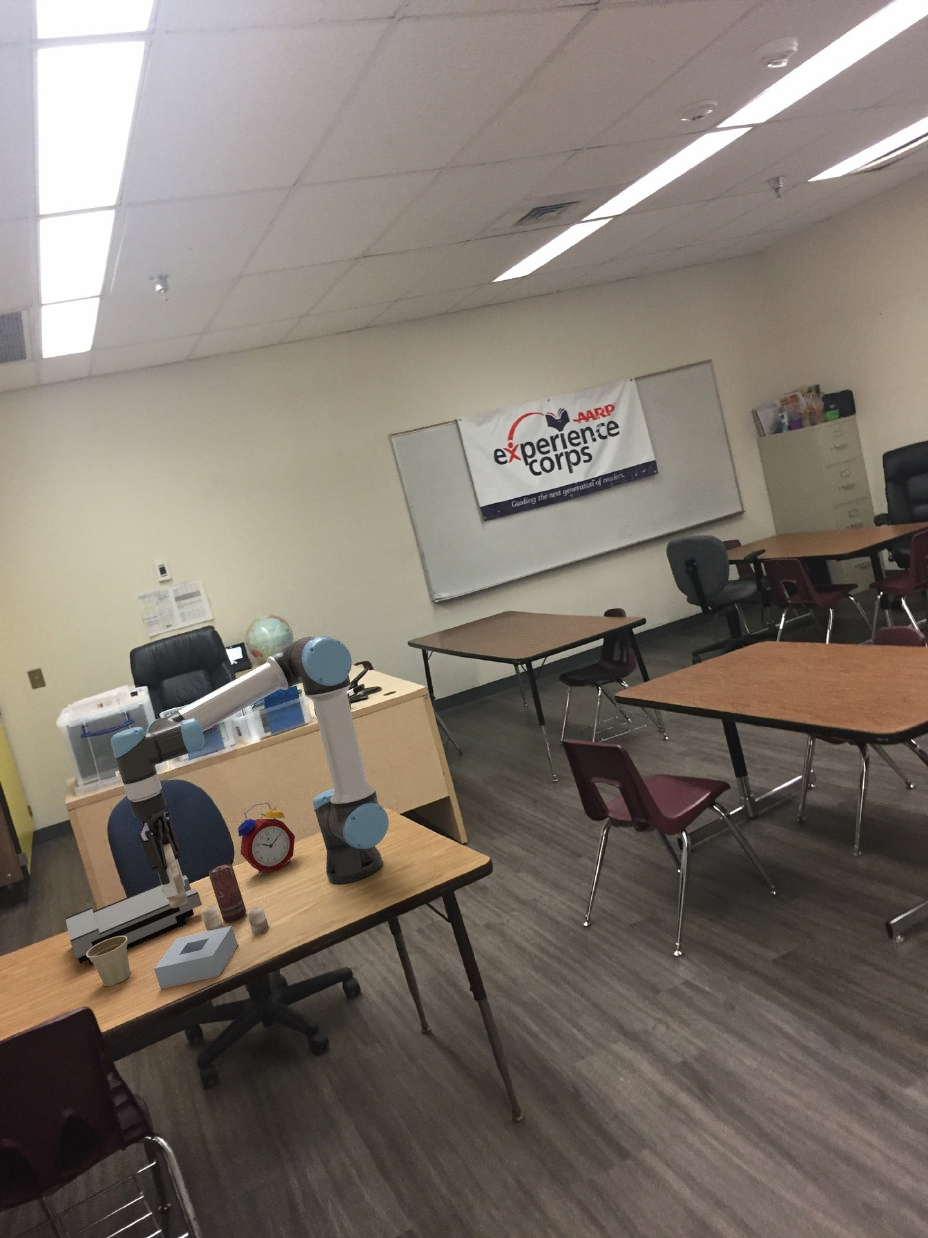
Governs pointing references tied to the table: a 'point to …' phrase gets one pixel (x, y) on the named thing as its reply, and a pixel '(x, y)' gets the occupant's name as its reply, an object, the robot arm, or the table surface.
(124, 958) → the flower pot
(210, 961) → the hole block
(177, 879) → the dowel long
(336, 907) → the table surface
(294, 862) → the table surface
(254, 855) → the alarm clock
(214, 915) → the dowel medium
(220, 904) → the can
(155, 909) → the game console
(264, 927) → the dowel short
